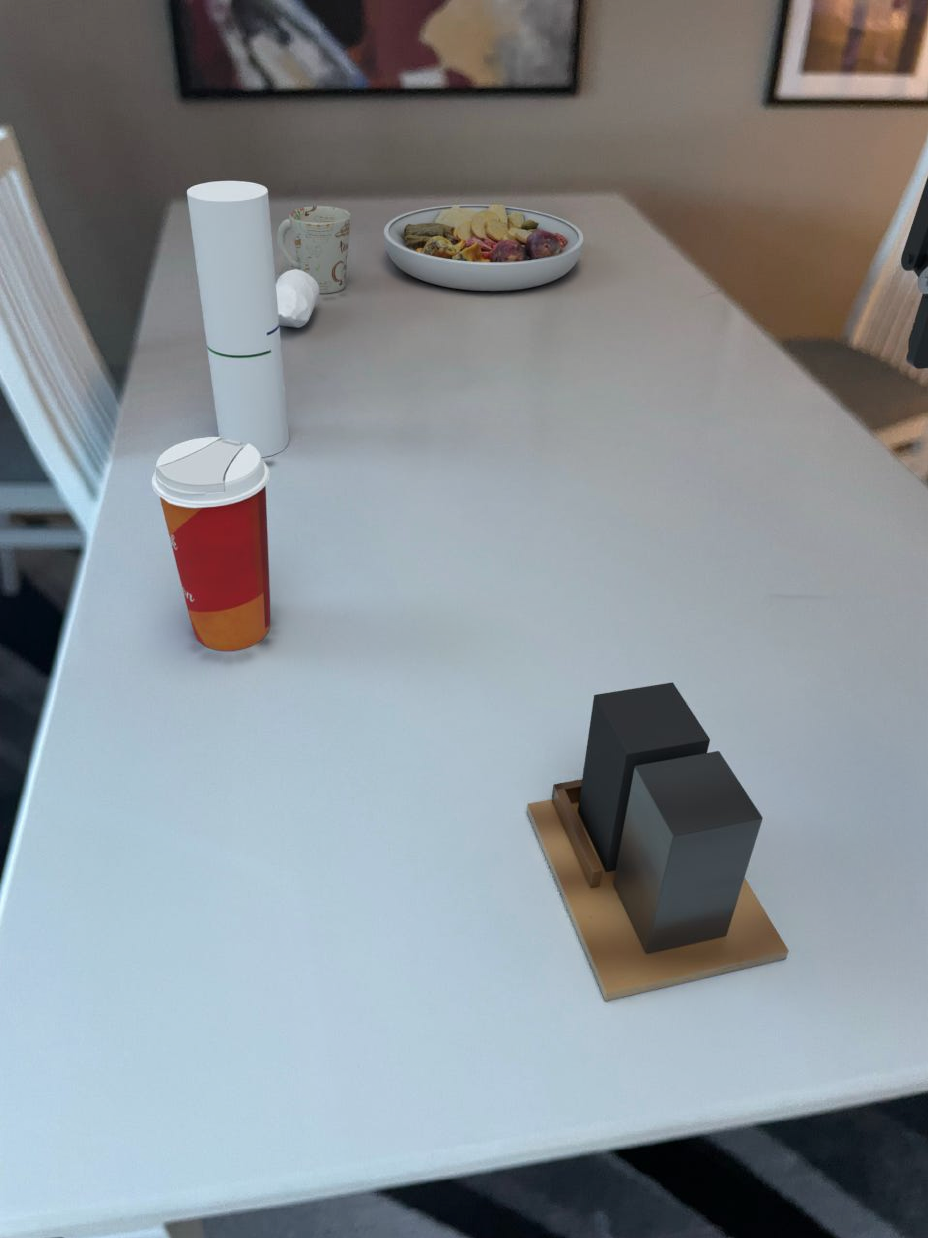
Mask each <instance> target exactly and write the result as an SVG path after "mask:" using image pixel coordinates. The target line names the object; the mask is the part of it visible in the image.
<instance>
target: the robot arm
mask: <svg viewBox="0 0 928 1238" xmlns="http://www.w3.org/2000/svg"><path fill="white" fill-rule="evenodd" d="M900 264H901V267H902V269H903V270H904V271H906V272H910V271H911V272H912V271H913V272H914V273H915V275H916V276H917V278H918V280H917V286H918V287H917V288H918V290H919V292H920V293H921V294H922V295H921V298H920V300H919V305H918V308H917V312H916V314H915V318H914V320H913V321H914V322H913V324H912V327H911V328H912V329H911V331H910V333H909V336H908V342H907V343H908V344H907V345H908V346H907V354H906V357H905V360H906V363H908V364H909V365H911V366H912V367H914V368H915V369H917V370H922V369H928V176H927V177H926V181H925V183H924V187H923V189H922V193H921V196H920V199H919V202H918V205H917V208H916V211H915V213H914V216H913V220H912V223H911V226H910V229H909V232H908V235H907V238H906V241H905V244H904V247H903V250H902V253H901V257H900Z"/></svg>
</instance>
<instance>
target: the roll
mask: <svg viewBox="0 0 928 1238" xmlns="http://www.w3.org/2000/svg"><path fill="white" fill-rule="evenodd" d="M276 293H277V304H278V316H279V326H281V327H282V326H283V327H289V328H296V329H298V328H302V327H303V326H306V325H307V323H308V322H309V320H310V318H311V316H312V314H313V312H314V309H315V307H316V305H317V302H318V300H319V296H320V293H319V286H318V284H317V282H316V281H315V279H314V278H313V277H311V276H310V275H309V274H307V273H306V272H303V271H301V270H299V269H298V268H294V269H289V270H286V271H284V272H283V273H282V274H280V276H279V277H278V278H277V280H276Z"/></svg>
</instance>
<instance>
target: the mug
mask: <svg viewBox="0 0 928 1238" xmlns="http://www.w3.org/2000/svg"><path fill="white" fill-rule="evenodd" d="M288 216H289V217H288V218H287V219H284V220H283V221H281V223H280V224H279V227H278V229H277V233H276V241H277V247H278V250H279V252H280V254H281V256H282V257H283V258H284V259H285V260H286V262H287V263H288V264H289V265H290V266H292V267H294V268H295V269H298V270H301V271H303V272H306V273H307V274H309V275H310V276H311V277H313V278H314V279H315V281H316V282H317V284H318V286H319V294H321V295H323V294H334V293H339V292H341V291H342V290H344V289H345V287H346V281H347V280H346V279H347V270H348V269H347V267H348V255H349V254H348V253H349V242H350V231H351V229H350V228H351V213H350V212H349V211H348V210H346V209H344V208H340V207H336V206H325V205H323V206H322V205H315V206H306V207H300V208H296V209H294V210H292V211H290V213H289V215H288ZM290 229H291V235H292V239H293V244H294V250H295V254H296V259H297V260H295V259H294V258H293V257H292V256H291V254H290V253H289V250H288V249H287V247H286V241H285V240H286V239H285V238H286V234H287V232H288V231H289V230H290Z"/></svg>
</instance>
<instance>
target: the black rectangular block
mask: <svg viewBox="0 0 928 1238" xmlns="http://www.w3.org/2000/svg"><path fill="white" fill-rule="evenodd" d="M591 707H592V708H591V715H590V722H589V728H588V736H587V743H586V749H585V757H584V764H583V771H582V778H581V779H582V784H581V791H580V798H579V806H578V813H579V816H580V818H581V820H582V822H583V824H584V826H585V828H586V831H587V833H588V835H589V837H590V839H591V841H592V844H593V846H594V848H595V850H596V852H597V854H598V856H599V859H600V861H601V863H602V865H603V867H604V869H605V871H606V872H610V871H615V870H616V866H617V860H618V855H619V849H620V844H621V839H622V833H623V828H624V822H625V817H626V812H627V806H628V801H629V795H630V790H631V785H632V779H633V774H634V768H635V766H637V765H643V764H648V763H654V762H659V761H665V760H671V759H676V758H682V757H687V756H693V755H698V754H704V753H708V750H709V746H710V741H711V738H710V736H709V735H708V734H707V732H706V730H705V729H704V728H703V726H702V725H701V723H700V722H699V720H698V718H697V717H696V715H695V714H694V712H693V711H692V709H691V708H690V707H689V705H688V703H687V701H686V700H685V698H684V697H683V695H682V694H681V693H680V691H679V690H678V688H677V686H676V684H674V682H666V683H660V684H654V685H648V686H642V687H634V688H629V689H623V690H617V691H609V692H604V693H598V694H594V695H593V701H592V706H591Z"/></svg>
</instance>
